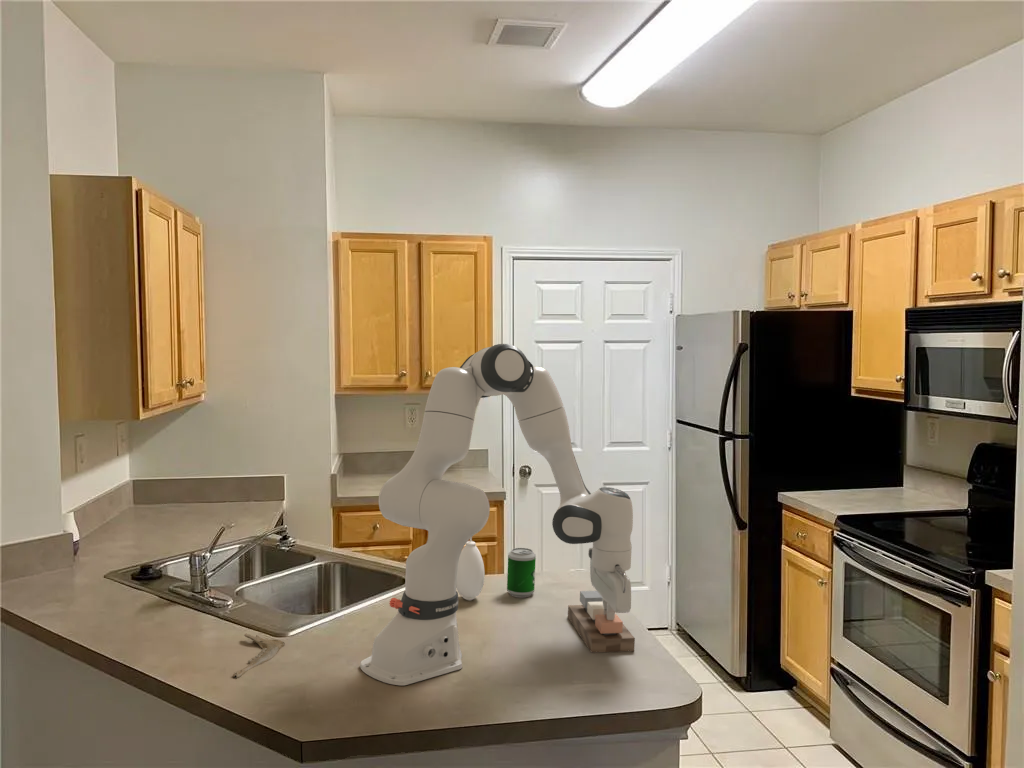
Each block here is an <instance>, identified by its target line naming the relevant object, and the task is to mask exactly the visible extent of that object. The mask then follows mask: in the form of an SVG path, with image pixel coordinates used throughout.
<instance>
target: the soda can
mask: <svg viewBox="0 0 1024 768" xmlns="http://www.w3.org/2000/svg"><path fill="white" fill-rule="evenodd" d="M536 557H537V556H536V553H535V552H534V550H533V549H531V548H529V547H528V548H526V547H515V548H512V549H511V551H509V552H508V553H507V573H506V574H507V575H506V576H507V577H506V578H507V579H506V590H507V593H509V595H510V596H511V597H513V598H529V597H531V596H532V594H534V593H535V585H536V584H535V583H536V581H535V580H536V559H537V558H536Z"/></svg>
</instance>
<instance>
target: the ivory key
mask: <svg viewBox="0 0 1024 768" xmlns="http://www.w3.org/2000/svg"><path fill="white" fill-rule="evenodd" d="M587 612H588V614H589V615H590V616H591V618H592V619H593V622H594V623H595V615H604V608H603V602H602V601H601V602H588V604H587Z"/></svg>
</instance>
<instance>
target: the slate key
mask: <svg viewBox="0 0 1024 768" xmlns="http://www.w3.org/2000/svg"><path fill="white" fill-rule="evenodd" d="M601 601H602V596H601V595H600V594H599V593H598V591H597V590H580V591H579V602H580V603H581V605H583V606H584V607H585V611H586V612H587V604H588V602H601ZM587 613H588V612H587Z"/></svg>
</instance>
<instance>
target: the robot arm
mask: <svg viewBox="0 0 1024 768" xmlns="http://www.w3.org/2000/svg"><path fill="white" fill-rule="evenodd" d="M502 395H504V396H505V397H507V398H508V400H509V401H510V402H511V404H512V406H513V407H514V410H515V415H516V418H517V422H518V425H519V428H520V430H521V433H522V435H523V437H524V439H525V441H526V443H527V445H528V446H529V448H530V449H532V450H533V451H535V452H537V453H538V454H540V455H542V456H543V458H544V459H545V460H546V461H547V462H548V464H549V466H550V469H551V472H552V475H553V477H554V480H555V481H554V482H555V483H556V486H557V489H558V492H559V495H560V498H559V499H560V501H559V506H558V508H557V509H556V511H555V513H554V515H553V517H552V522H551V524H552V525H551V526H552V529H553V532H554V534H555V536H556V537H557V538H558V539H559V540H560V541H562V542H563V543H566V544H570V545H578V544H579V545H580V544H590V543H592V547H589V548H588V558H589V561H590V562H589V566H590V567H589V571H590V572H589V573H590V575H589V578H590V583H591V586H592V587H593V588H594V589H595V591H598V593H599V594H600V595H601V596H602V602H603V608H604V616H605V617H606V618H607V620H614V619H615V614H625V613H626V614H628V613H630V612H631V608H632V584H631V579H630V578H629V576H628V575H627V574H626V571H627V572H628V571H629V570H630V569H631V567H632V542H631V541H632V540H631V535H632V532H633V527H634V526H633V525H634V514H633V513H634V512H633V511H634V510H633V509H634V508H633V502H632V499H631V497H630V496H629V494H628V493H627V492H625V491H623V490H621V489H618V488H614V487H609V486H608V487H607V486H604V487H599V488H598V489H597V490H595V491H594V492H590V491H589V488H587V486H586V485H585V482H584V480H583V477H582V474H581V470H580V469H579V466H578V462H577V459H576V456H575V454H574V451H573V445H572V439H571V433H570V426H569V421H568V417H567V413H566V409H565V407H564V403H563V401H562V398H561V396H560V393H559V390H558V388H557V386H556V384H555V381H554V379H553V378H552V376H551V375H550V372H549V371H548V370H547V369H545V368H544V367H542V366H537V365H533V364H532V362H530V360H529V359H528V358H527V357H526V355H525V353H523V351H522V350H521V349H520V348H518V346H517V347H516V346H515V345H512V344H510V343H498V344H495V345H492V346H488V347H487V346H486V347H484V348H482V349H480V350H478V351H477V352H475V353H473V354H471V355H470V356H468V357H467V358H466V359H465V360H464V362H463V363H462V364H461V366H459V367H457V366H452V367H451V366H449V367H445V368H442V369H441V370H439V371H438V372H437V373H436V375H435V377H434V379H433V381H432V384H431V387H430V389H429V393H428V396H427V400H426V404H425V406H424V407H425V408H424V413H423V417H422V418H423V419H422V424H421V428H420V432H419V436H418V440H417V444H416V447H415V449H414V452H413V453H412V455H411V457H410V459H409V460H408V462H407V463H406V464H405V465H404V467H403V468H401V470H400V471H399V472H397V473H396V474H395V475H393V476H392V477H391V478H390V477H389V478H388V479H387V481H385V482H384V484H383V485H382V487H381V489H380V492H379V494H378V507H379V511H380V513H381V515H382V517H383V518H384V519H385V520H388V521H390V522H392V523H394V524H398V525H400V526H402V527H408V528H414V529H419V530H424V531H425V530H426V531H427V532H428V533H427V534H428V535H427V540H426V543H425V544H423V545H421V546H419V547H417V548H415V549H414V550H412V551H411V552H410V553H409V555H408V556H407V558H406V562H405V583H404V584H405V585H404V587H405V588H404V589H405V590H404V592H403V593H402V595H401V599H399V598H396V597H391V598H390V600H389V607H390V608H394V609H396V610H397V613H396V614H395V615H394V616H393V617H392V619H391V620H390V621H389V622H388V623H387V624H386V625H385V627H383V629H382V630H381V631H380V632H378V634H377V635H376V636H375V638H374V640H373V644H372V648H371V650H372V651H371V655H370V656H368V657H366V658H364V659H362V660H361V661H360V663H359V668H360V669H361V670H362V672H363V673H365V674H366V675H367V676H369V677H370V678H373V679H375V680H378V681H380V682H383V683H385V684H390V685H394V686H395V685H396V686H407V685H411V684H414V683H418V682H421V681H424V680H428V679H431V678H434V677H438V676H441V675H445V674H448V673H451V672H455V671H458V670H461V669H462V668H463V662H462V658H463V657H462V656H463V654H462V650H461V645H460V640H459V639H460V637H459V629H458V621H457V620H458V619H457V611H458V610H459V592H458V590H457V588H456V584H457V570H458V562H459V557H460V554H461V552H462V550H463V548H464V547H465V546H466V542H468V541H470V538H471V537H472V538H473V537H474V535H476V534H478V533H479V532H480V531H482V530H483V528H484V527H485V526H486V525H487V522H488V519H489V517H490V511H491V510H490V509H491V508H490V506H491V505H490V500H489V499H488V496H487V494H486V492H485V491H484V490H483V489H481V488H478V487H476V486H473V485H471V484H468V483H465V482H458V481H452V480H451V481H450V480H446V479H445V480H443V477H444V474H445V473H446V471H447V470H448V469H449V468H450V467H451V466H452V465H455V464H457V463H459V462H461V461H463V460H464V459H465V458H466V457H467V455H468V453H469V452H470V445H471V440H472V433H473V428H474V424H475V422H474V421H475V416H476V409H477V406H478V403H479V401H480V399H484V398H485V399H486V398H489V397H496V396H502Z"/></svg>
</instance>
